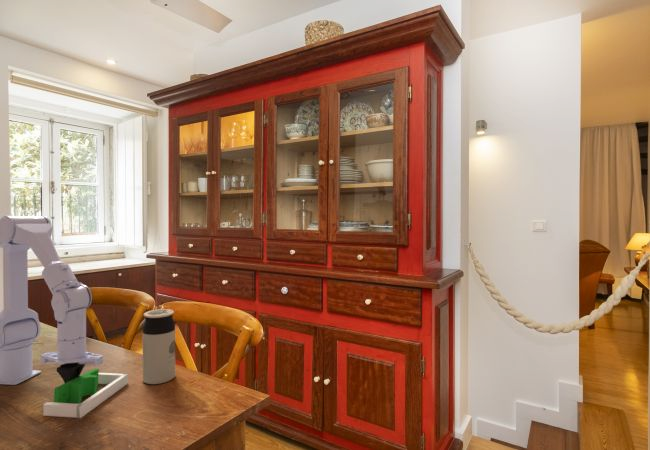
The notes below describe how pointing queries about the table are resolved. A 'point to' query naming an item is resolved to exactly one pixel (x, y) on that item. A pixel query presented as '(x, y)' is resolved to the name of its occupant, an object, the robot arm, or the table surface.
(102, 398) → the white u-shaped frame
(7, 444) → the table surface
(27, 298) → the robot arm
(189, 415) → the table surface
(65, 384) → the pipe clamp
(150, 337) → the travel mug
